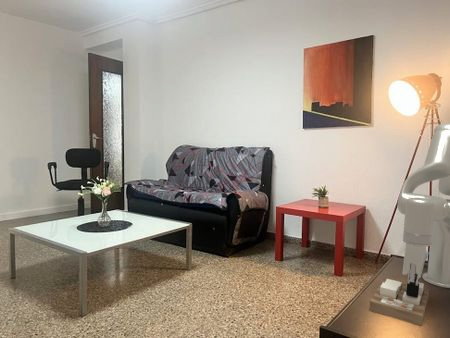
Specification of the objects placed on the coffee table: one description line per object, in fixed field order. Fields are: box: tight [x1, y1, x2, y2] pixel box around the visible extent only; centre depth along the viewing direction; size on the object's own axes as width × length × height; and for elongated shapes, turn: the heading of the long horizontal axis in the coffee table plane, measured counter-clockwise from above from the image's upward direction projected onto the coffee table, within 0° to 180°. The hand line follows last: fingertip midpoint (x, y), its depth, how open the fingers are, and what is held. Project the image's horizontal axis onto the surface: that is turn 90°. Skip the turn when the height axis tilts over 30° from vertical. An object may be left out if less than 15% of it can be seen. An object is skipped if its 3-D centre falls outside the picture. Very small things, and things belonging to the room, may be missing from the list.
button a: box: [385, 278, 403, 291], centre depth 116 cm, size 5×5×3 cm
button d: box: [402, 292, 421, 306], centre depth 106 cm, size 5×5×3 cm
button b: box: [405, 282, 425, 296], centre depth 112 cm, size 5×5×3 cm
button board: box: [369, 278, 430, 327], centre depth 109 cm, size 22×14×4 cm, turn 145°
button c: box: [379, 282, 398, 299], centre depth 109 cm, size 5×5×3 cm
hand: (412, 295), depth 106 cm, fingers closed
